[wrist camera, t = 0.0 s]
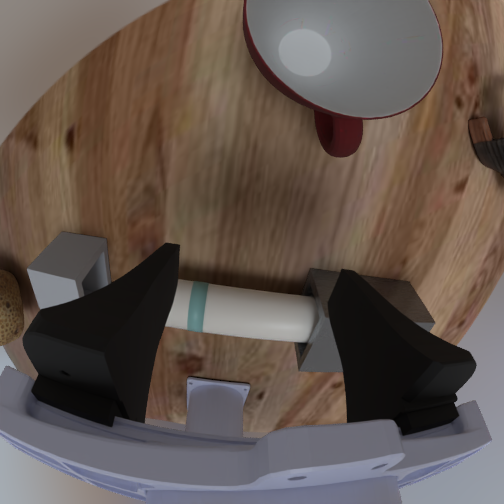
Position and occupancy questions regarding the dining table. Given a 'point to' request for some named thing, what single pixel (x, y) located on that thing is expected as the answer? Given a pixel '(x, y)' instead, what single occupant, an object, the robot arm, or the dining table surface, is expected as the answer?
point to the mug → (346, 59)
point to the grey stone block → (322, 340)
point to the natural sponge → (10, 308)
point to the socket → (69, 269)
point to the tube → (243, 312)
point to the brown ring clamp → (487, 145)
